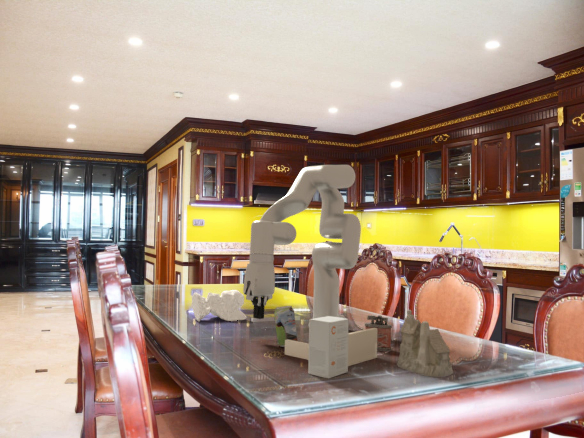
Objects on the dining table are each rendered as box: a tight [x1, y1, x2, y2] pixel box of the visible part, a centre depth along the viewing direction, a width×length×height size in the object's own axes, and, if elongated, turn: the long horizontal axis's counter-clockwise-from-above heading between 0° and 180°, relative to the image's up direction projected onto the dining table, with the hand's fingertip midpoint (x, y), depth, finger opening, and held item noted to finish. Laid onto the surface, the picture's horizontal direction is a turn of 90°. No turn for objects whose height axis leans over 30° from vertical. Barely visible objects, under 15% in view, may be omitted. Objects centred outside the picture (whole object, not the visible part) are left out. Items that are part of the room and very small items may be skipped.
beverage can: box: [273, 305, 298, 348], centre depth 147 cm, size 6×7×12 cm
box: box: [284, 328, 378, 367], centre depth 136 cm, size 16×20×8 cm
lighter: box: [364, 314, 393, 352], centre depth 147 cm, size 8×3×10 cm, turn 71°
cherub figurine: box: [191, 289, 247, 323], centre depth 194 cm, size 13×12×20 cm
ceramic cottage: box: [396, 309, 454, 378], centre depth 127 cm, size 16×16×15 cm
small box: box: [307, 316, 350, 379], centre depth 118 cm, size 8×6×13 cm
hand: (258, 318), depth 154 cm, fingers closed
